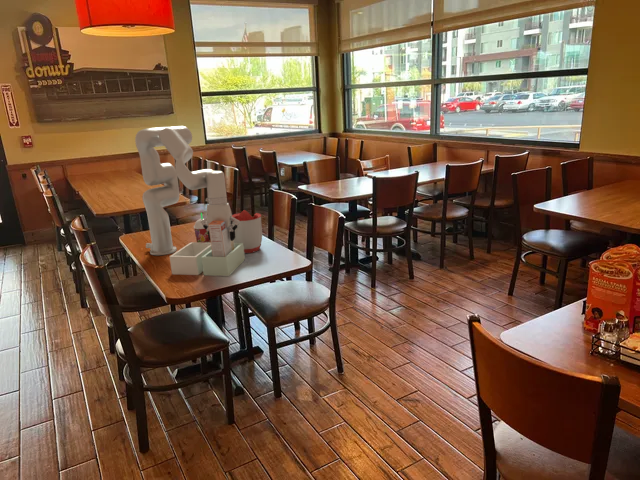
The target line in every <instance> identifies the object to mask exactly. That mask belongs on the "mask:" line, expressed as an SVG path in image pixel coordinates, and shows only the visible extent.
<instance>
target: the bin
mask: <svg viewBox="0 0 640 480" xmlns="http://www.w3.org/2000/svg"><path fill="white" fill-rule="evenodd" d="M234 246H235V249H234V250H233V251H231V252H230V253H229V254H228V255H227V256H226V257H213V255H212V250H210V251H209V252H208V253H206V254H205V255H204V256H202V265H203V271H202V272H203V276H217V277H218V276H219V277H221V276H222V277H229V276H230V275H231V274H232V273H234V271H236V269H237V268H238V267H240V265H241V264H243V262H244V261H245V260H246V256H245V253H244V245H243V243H234Z"/></svg>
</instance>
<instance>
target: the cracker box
mask: <svg viewBox="0 0 640 480" xmlns="http://www.w3.org/2000/svg"><path fill="white" fill-rule="evenodd" d="M208 225H209V233H210V240H211V248H212V255H213V257H226V256H227V255H228V254H229V253H230V252H231V251H233V250H234V249H235V246H234V240H233V241H231V240H230V232H231V231H230V230H229V228H226V226H225V221H212V222H211V223H209V224H208Z"/></svg>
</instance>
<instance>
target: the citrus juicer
mask: <svg viewBox="0 0 640 480" xmlns="http://www.w3.org/2000/svg"><path fill="white" fill-rule="evenodd" d="M232 217H233V218H235V219H237V220H239V221H240V223H239V225H238V227H237V228H236V230H235V239H234V243H243V245H244V254H253V253H255V252H258V251H260V249H261V246H262V241H263V229H262V228H263V227H262V225H263V224H262V214H261V213H259V212H256V213H254V214H253V216H252V215H251V214H250V213H249V212H248V211H247V210H245V209H244V210H242V211H241V212H240V213H234V214H232ZM232 225H233V226H235V222H233V224H232Z"/></svg>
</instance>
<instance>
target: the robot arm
mask: <svg viewBox="0 0 640 480" xmlns="http://www.w3.org/2000/svg"><path fill="white" fill-rule="evenodd" d="M134 140H135V141H134V142H135V147H136V149H137V152H138V154H139V159H140V167H141V175H142V179H143V182H144V183H145V185H147V186H157V185H158V186H157V187H153V188H148V189H147V190H145V191H144V192H143V193H142V202H143V205H144V207H145V210H146V214H147V215H146V216H147V220H148V221H147V222H148V227H149V234H150V239H151V243H150V242H146V243H145V249H150V251H149V254H150V255H151V256H167V255H170V254H171V255H172V254H174V253H176V252H177V251H178V249H177V247H176V245H175V246H174V244H173V237H172V231H171V224H170V217H169V214H168V212H167V211H166V210H165V209H164V208H165V207H168V206H171V205H174V204H177V203H178V202H179V200H180V188H179V181H180V182H181V183H182V184H183V185H184V187H186V188H187V189H188V190H190V191H195V190H199V189H203V188H204V189H205V188H206V190H207V191H206V192H207V197H206V198H205V202H207V203H208V204H207V205H206V217H205V218H204V220H202V221H201V224H202V225H203V227H204V228H205V229H206V231H207V232H208V238H209V240H210V233H209V225H208V224H209V223H211V222H212V221H225V226H226V228H229V230H230V231H231V232H230V240H231V241H233V240H234V239H235V230H236V228H237V227H238V225H239V223H240V221H239V220H237V219H235V218H233V217H232V215H233V214H232V209H231V207H230V204H229V202H228V198H227V197H228V196H227V190H226V189H227V188H226V179H225V177H226V176H225V173H224V172H223V171H222V170H213V169H211V168H204V169H199V170H194V171H193V170H192V171H191V170H189V168H188V167H187V166H186V163H188V162H189V161H190V160H191V159H192V157H193V155H194V150H193V148H192V146H190V144H191V143H192V140H193V134H192V131H191V130H190V129H189V127H187V126H184V125H176V126H172V125H171V126H159V127H158V126H157V127H149V128H148V127H147V128H142V129H140V130H138V131H137V133H136V134H135V138H134ZM157 147H159V148H160V147H164V148H165V149H166V150H167V152H168V153H169V154H170V155H171V156H172V158H173V159H174V160H175V164H174V165H175V166H174V165H173V164H172V163H170V162H161V159H160V158H161V157H160V154H159V152H158V150H156V148H157ZM159 185H162V186H159ZM206 221H207V224H206V223H205V222H206ZM208 222H209V223H208ZM233 222H235V226H233V225H232V224H233Z"/></svg>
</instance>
